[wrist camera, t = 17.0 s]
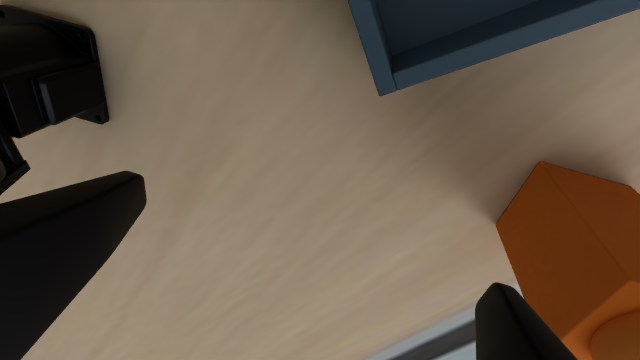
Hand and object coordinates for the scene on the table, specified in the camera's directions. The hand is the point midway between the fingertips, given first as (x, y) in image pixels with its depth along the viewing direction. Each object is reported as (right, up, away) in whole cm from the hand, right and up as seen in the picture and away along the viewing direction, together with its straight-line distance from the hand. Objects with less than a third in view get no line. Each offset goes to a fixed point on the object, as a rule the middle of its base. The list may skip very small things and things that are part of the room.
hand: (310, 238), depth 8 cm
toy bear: (+15, 0, +12) cm, 20 cm away
